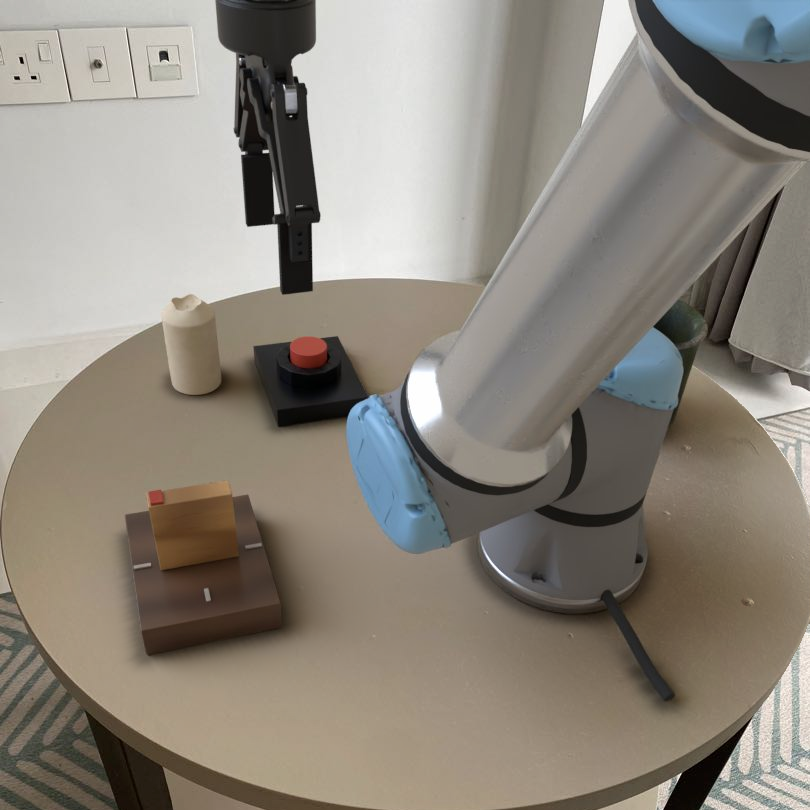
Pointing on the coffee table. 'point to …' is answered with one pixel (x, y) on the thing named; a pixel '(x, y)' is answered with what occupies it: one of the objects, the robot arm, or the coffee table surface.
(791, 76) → the robot arm
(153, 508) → the handle
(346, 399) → the button block
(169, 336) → the candle
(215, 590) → the panel
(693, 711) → the coffee table surface
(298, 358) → the button
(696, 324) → the mug
